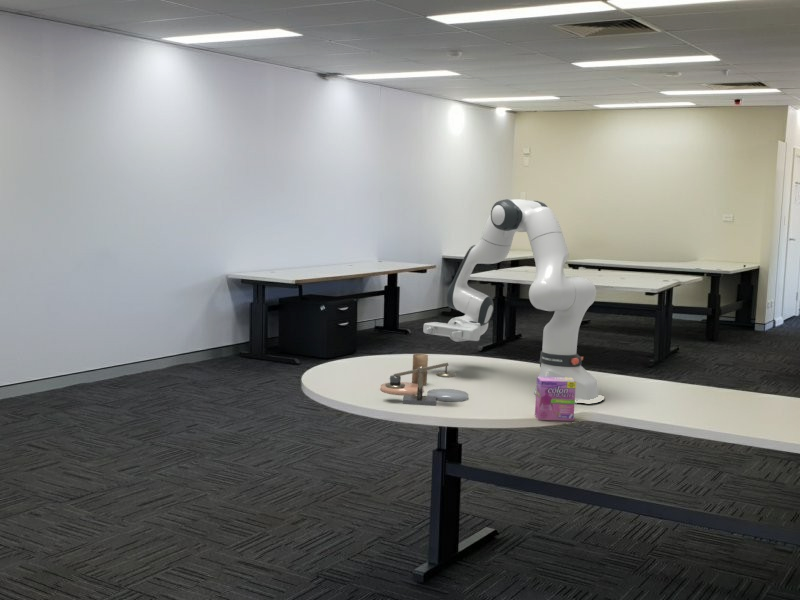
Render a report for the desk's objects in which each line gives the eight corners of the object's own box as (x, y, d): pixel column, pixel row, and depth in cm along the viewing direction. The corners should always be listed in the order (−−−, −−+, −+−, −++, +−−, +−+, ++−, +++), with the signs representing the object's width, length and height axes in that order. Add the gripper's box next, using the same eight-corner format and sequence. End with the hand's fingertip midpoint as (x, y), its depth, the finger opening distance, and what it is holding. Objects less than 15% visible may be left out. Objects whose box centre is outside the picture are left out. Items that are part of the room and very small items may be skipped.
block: (429, 384, 284) (430, 355, 283) (421, 386, 280) (422, 356, 279) (416, 382, 287) (418, 353, 286) (408, 384, 283) (410, 355, 281)
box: (538, 420, 241) (540, 380, 240) (534, 415, 246) (536, 376, 245) (574, 421, 241) (576, 381, 240) (569, 416, 247) (572, 377, 246)
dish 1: (431, 390, 275) (431, 386, 275) (408, 397, 263) (408, 393, 263) (396, 383, 282) (396, 380, 282) (372, 390, 271) (372, 386, 271)
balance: (454, 401, 260) (456, 361, 259) (454, 406, 253) (456, 365, 252) (385, 397, 261) (387, 357, 260) (384, 402, 254) (385, 361, 253)
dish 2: (475, 396, 268) (475, 393, 267) (455, 403, 257) (455, 400, 257) (440, 390, 275) (440, 387, 275) (419, 397, 264) (419, 393, 264)
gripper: (435, 317, 308) (414, 320, 297) (484, 323, 297) (465, 327, 286) (434, 334, 309) (413, 338, 298) (483, 341, 298) (464, 345, 287)
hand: (439, 333), depth 292 cm, fingers open, 8 cm apart
